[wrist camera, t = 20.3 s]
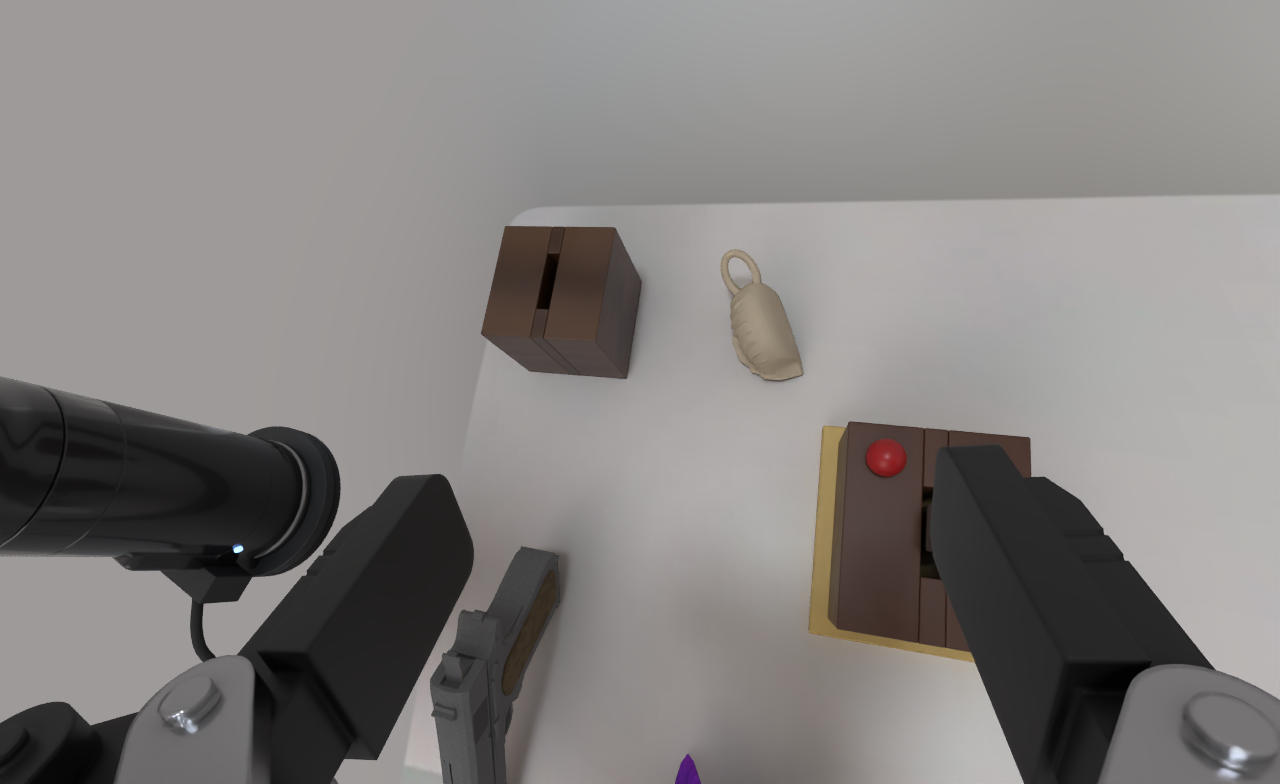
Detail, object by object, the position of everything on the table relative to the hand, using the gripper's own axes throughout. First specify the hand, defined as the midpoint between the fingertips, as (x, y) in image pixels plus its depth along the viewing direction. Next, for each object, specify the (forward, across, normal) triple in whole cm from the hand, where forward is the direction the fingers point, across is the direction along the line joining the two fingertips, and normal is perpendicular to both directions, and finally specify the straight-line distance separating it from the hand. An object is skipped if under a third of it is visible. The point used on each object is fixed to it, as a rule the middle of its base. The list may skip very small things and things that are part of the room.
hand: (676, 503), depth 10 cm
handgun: (+15, +16, +29) cm, 36 cm away
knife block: (+34, +11, +10) cm, 37 cm away
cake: (+22, -10, +22) cm, 32 cm away
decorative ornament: (+33, -2, +12) cm, 35 cm away
